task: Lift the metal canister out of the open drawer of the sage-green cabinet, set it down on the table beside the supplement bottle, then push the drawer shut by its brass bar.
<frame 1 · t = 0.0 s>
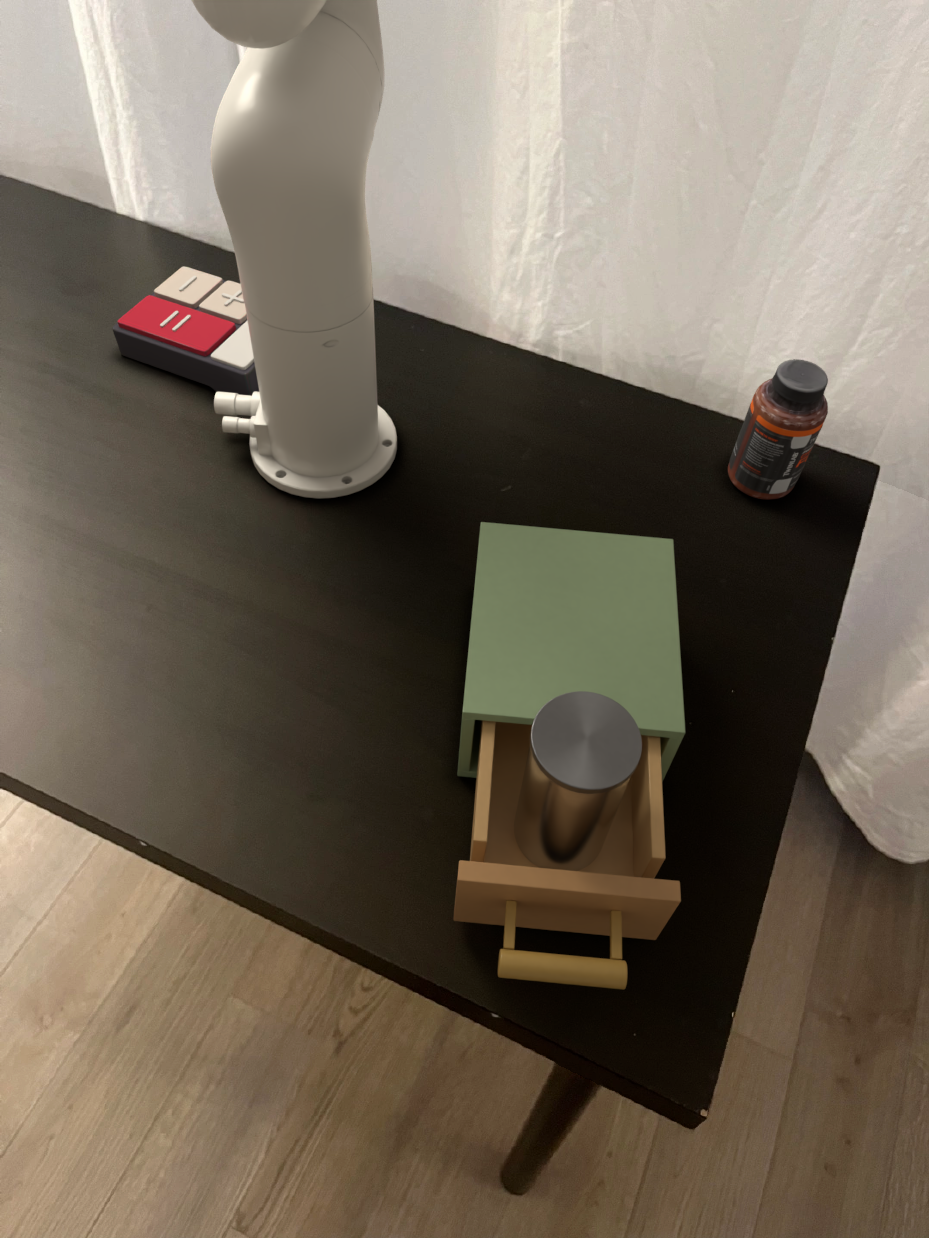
cabinet: (559, 688, 70), on the table
drawer: (563, 829, 58), point 4 cm above the table, slide at 9.0 cm, touching metal canister
metal canister: (558, 829, 61), point 2 cm above the table, touching drawer
calculator: (220, 349, 90), on the table
supplement bottle: (759, 479, 83), on the table
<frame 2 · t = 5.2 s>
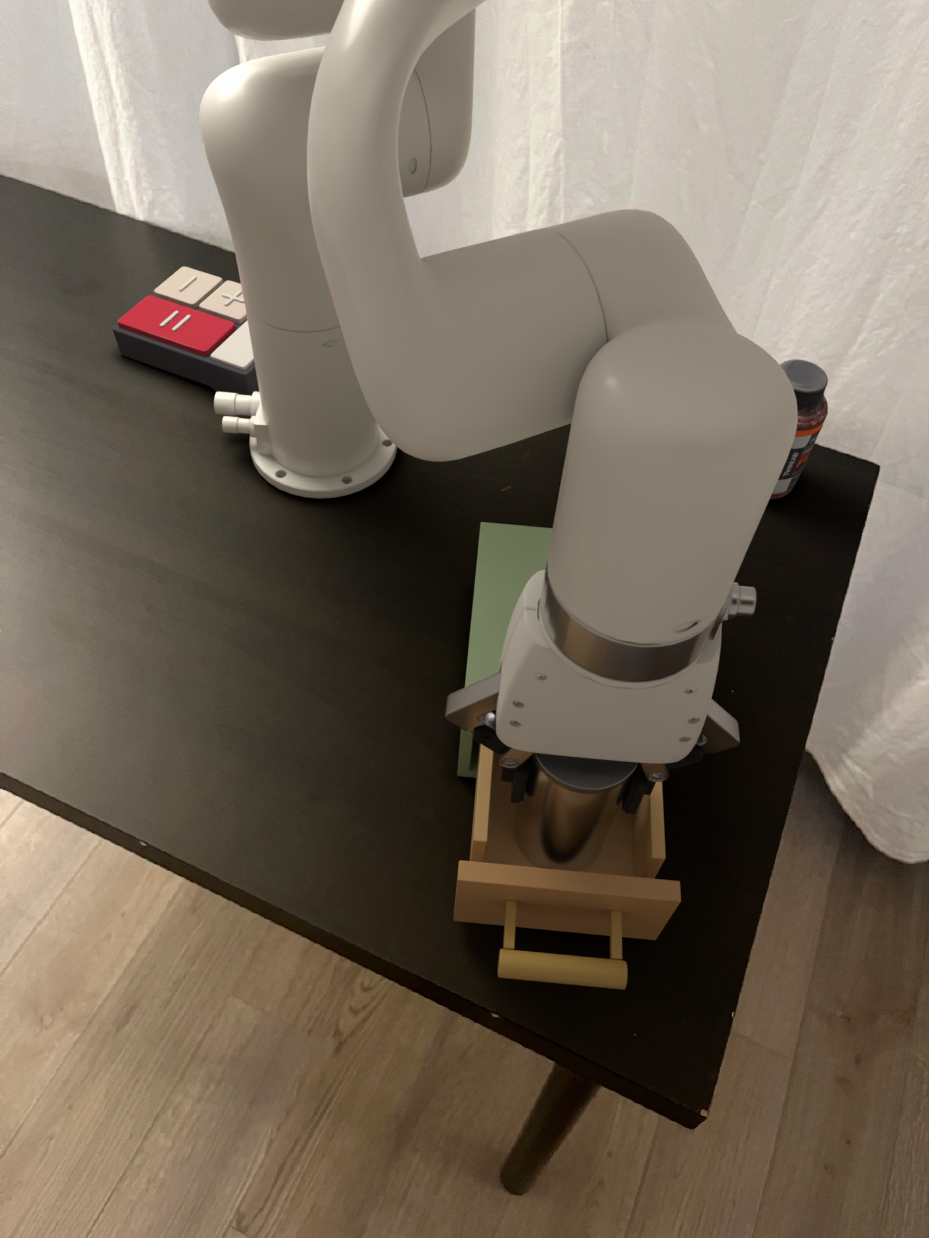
hand: (572, 783, 56), 9 cm above the table, tool pointing down, fingers closed on metal canister, 5 cm apart
metal canister: (558, 829, 61), point 2 cm above the table, touching drawer, gripper
everything else where it was.
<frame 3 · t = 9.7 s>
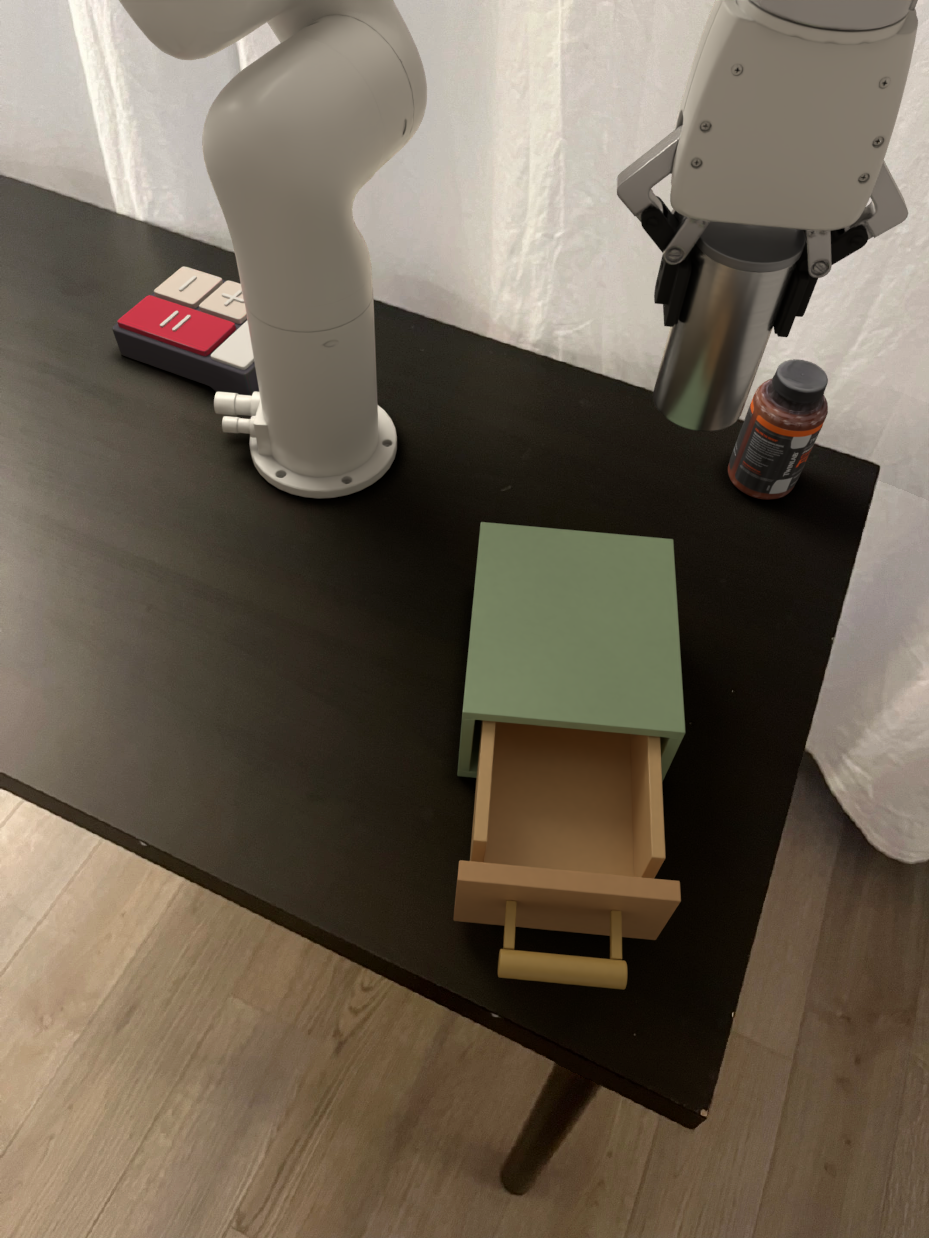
hand: (724, 315, 56), 24 cm above the table, tool pointing down, fingers closed on metal canister, 5 cm apart
drawer: (563, 829, 58), point 4 cm above the table, slide at 9.0 cm
metal canister: (697, 400, 62), point 18 cm above the table, touching gripper
everything else where it was.
when the fingers open (7 cm above the table, at t = 14.3 s): metal canister stays where it is, on the table.
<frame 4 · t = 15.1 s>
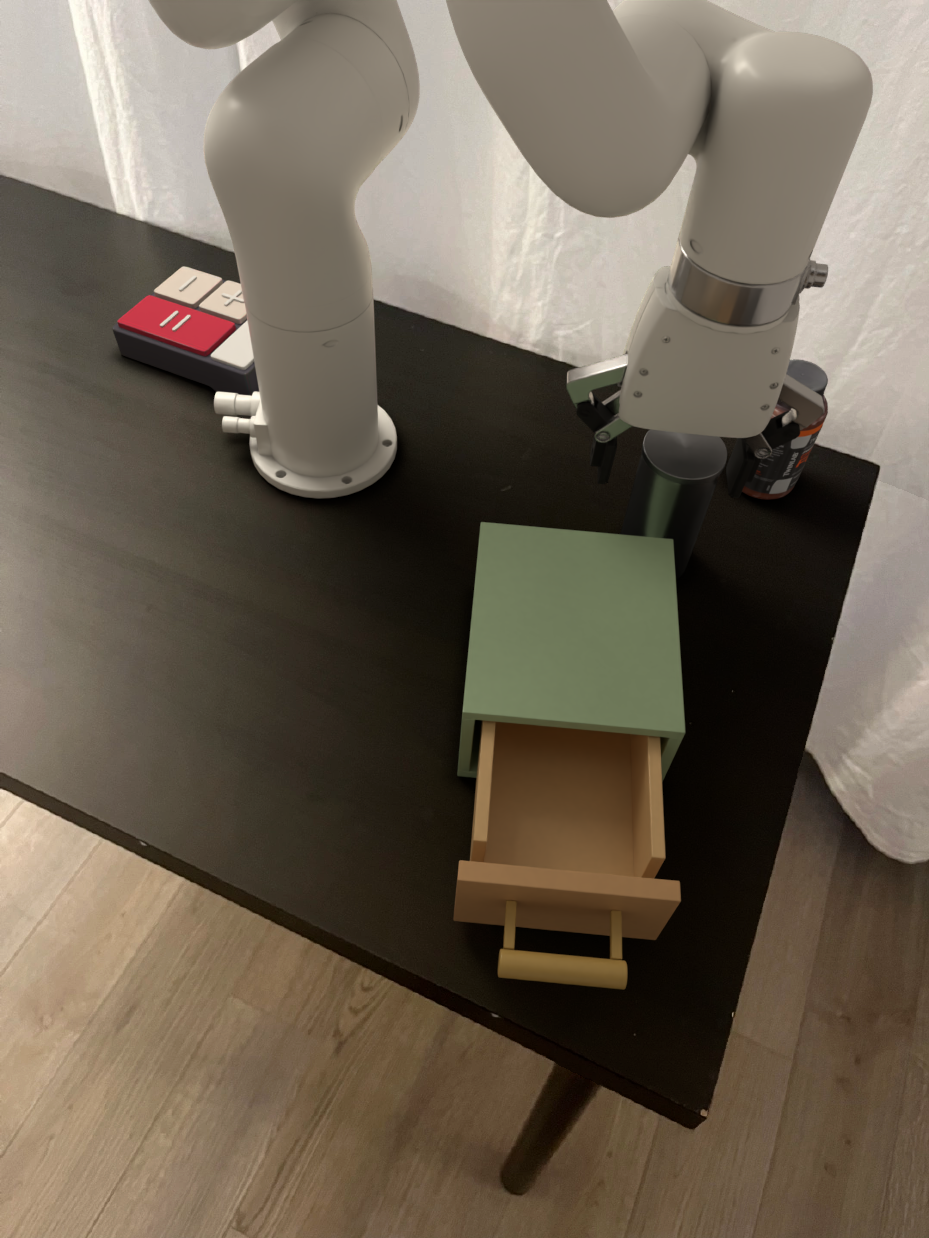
hand: (666, 477, 70), 9 cm above the table, tool pointing down, fingers open, 9 cm apart
metal canister: (651, 557, 77), on the table
everything else where it was.
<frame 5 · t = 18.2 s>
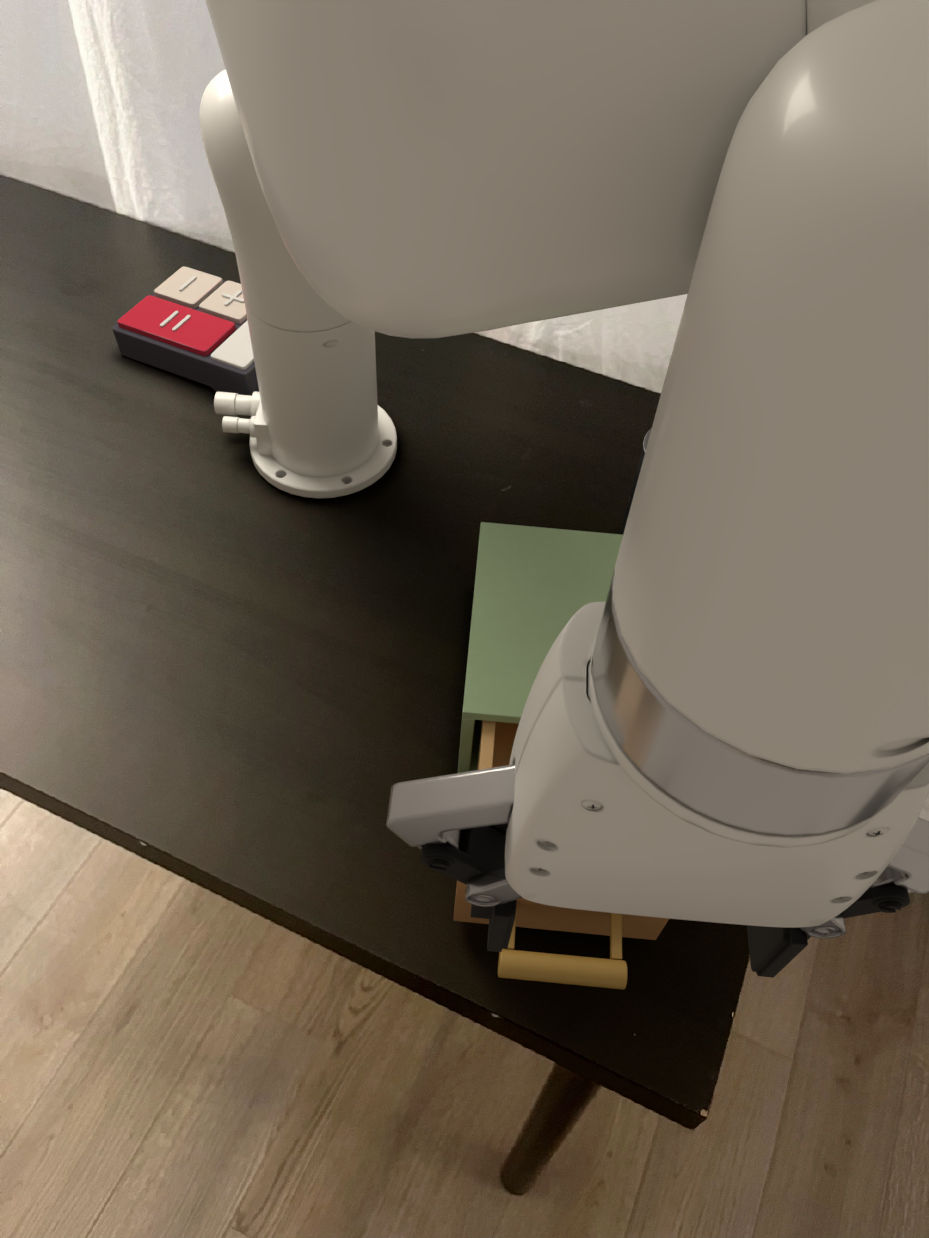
hand: (627, 922, 35), 24 cm above the table, tool pointing down, fingers open, 9 cm apart
nothing on the table moved.
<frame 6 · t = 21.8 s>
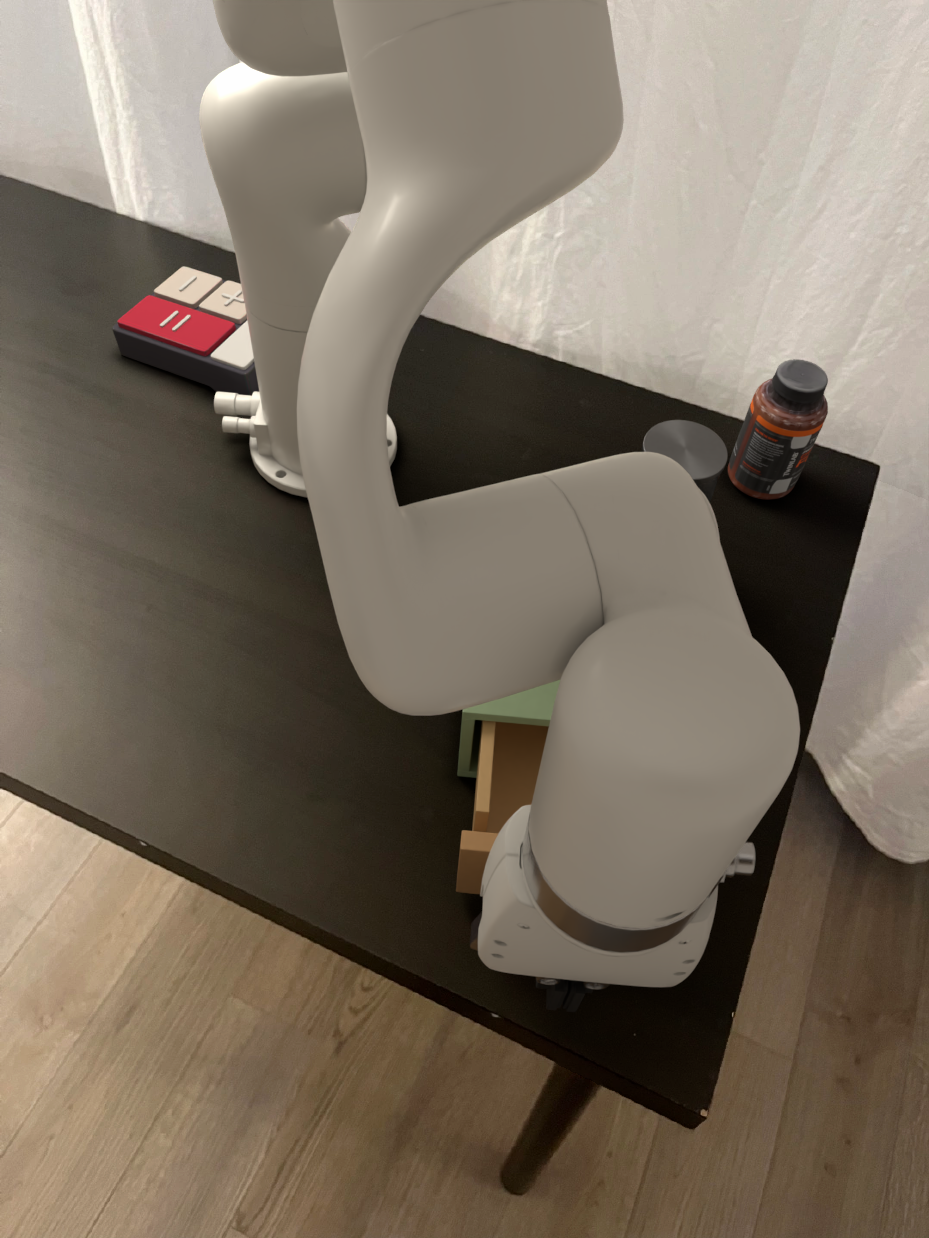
hand: (561, 982, 53), 5 cm above the table, tool pointing down, fingers closed
drawer: (563, 802, 60), point 4 cm above the table, slide at 7.2 cm, touching gripper
everything else where it was.
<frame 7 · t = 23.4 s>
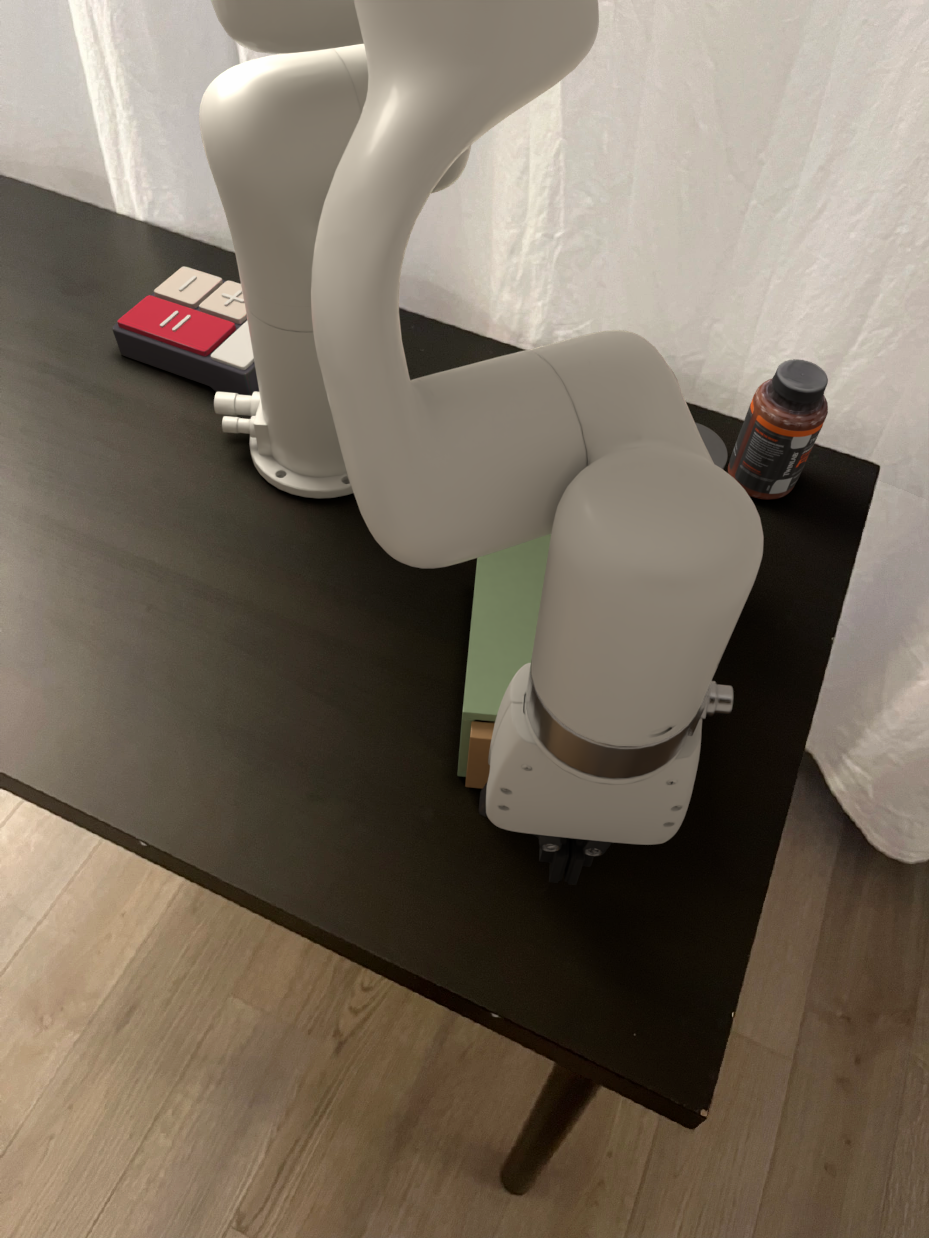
hand: (563, 859, 57), 4 cm above the table, tool pointing down, fingers closed
drawer: (565, 703, 64), point 4 cm above the table, slide at 0.0 cm, touching cabinet, gripper
everything else where it was.
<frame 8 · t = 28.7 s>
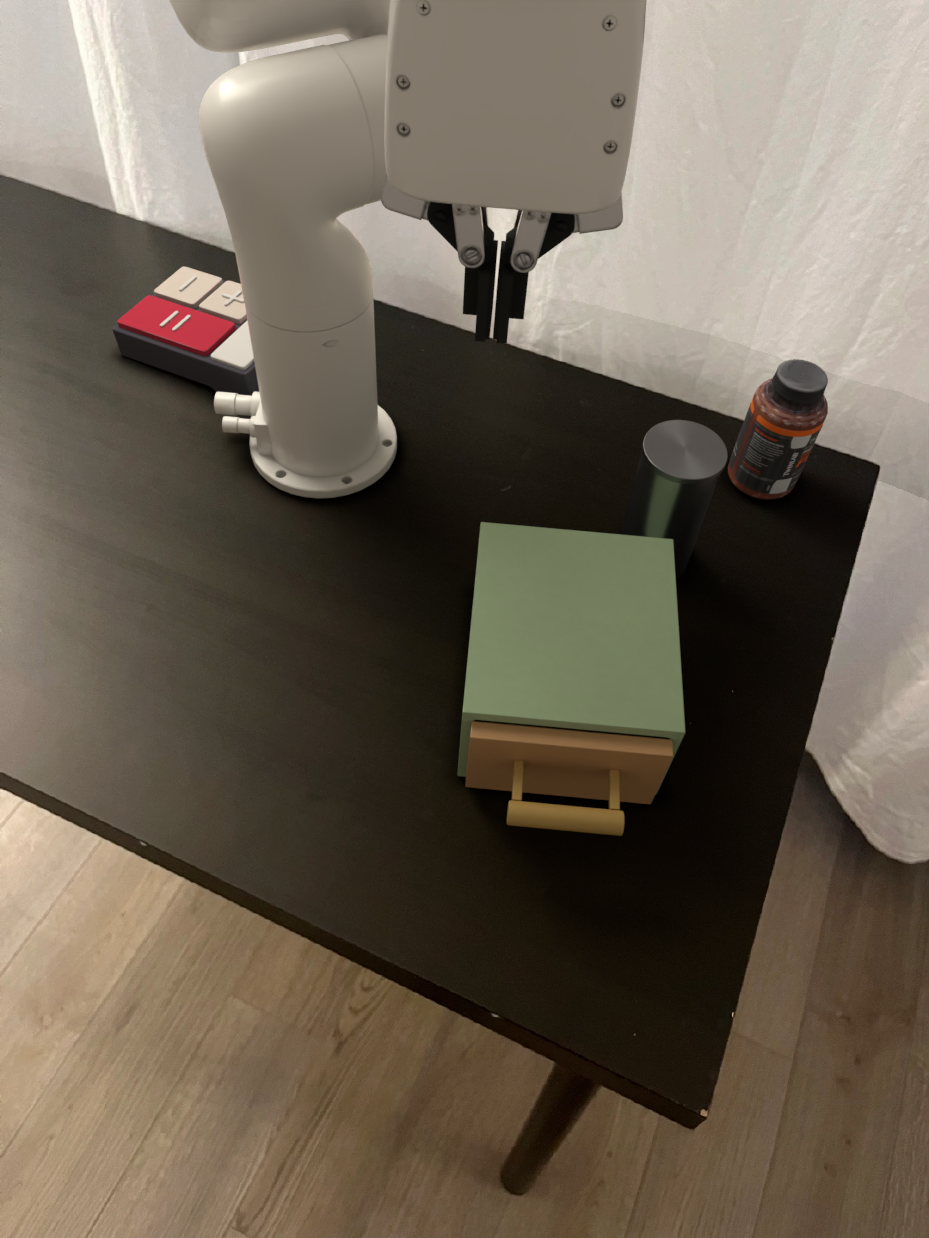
hand: (492, 324, 48), 29 cm above the table, tool pointing down, fingers closed
drawer: (565, 703, 64), point 4 cm above the table, slide at 0.0 cm, touching cabinet
everything else where it was.
at the end: metal canister inside the target area on the table beside the supplement bottle (0.2 cm from its centre), on the table; metal canister tilted 0°; drawer slide at 0.0 cm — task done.
